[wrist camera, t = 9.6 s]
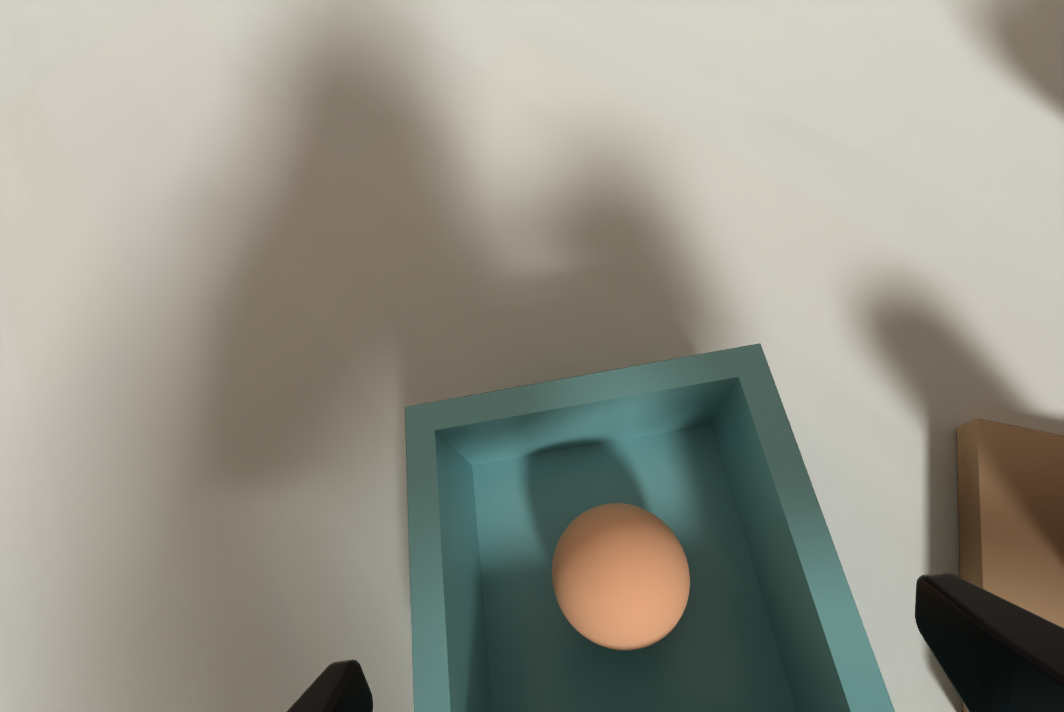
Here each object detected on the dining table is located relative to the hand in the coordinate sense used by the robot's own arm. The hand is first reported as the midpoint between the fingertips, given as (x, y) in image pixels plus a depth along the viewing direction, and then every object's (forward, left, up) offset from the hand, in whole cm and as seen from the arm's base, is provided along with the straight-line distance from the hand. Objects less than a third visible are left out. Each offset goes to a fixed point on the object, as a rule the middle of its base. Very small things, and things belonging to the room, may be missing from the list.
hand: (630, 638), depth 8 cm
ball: (+1, +1, -7) cm, 8 cm away
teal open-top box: (+1, +1, -8) cm, 8 cm away
